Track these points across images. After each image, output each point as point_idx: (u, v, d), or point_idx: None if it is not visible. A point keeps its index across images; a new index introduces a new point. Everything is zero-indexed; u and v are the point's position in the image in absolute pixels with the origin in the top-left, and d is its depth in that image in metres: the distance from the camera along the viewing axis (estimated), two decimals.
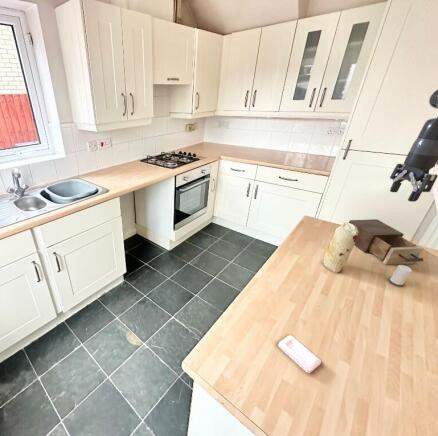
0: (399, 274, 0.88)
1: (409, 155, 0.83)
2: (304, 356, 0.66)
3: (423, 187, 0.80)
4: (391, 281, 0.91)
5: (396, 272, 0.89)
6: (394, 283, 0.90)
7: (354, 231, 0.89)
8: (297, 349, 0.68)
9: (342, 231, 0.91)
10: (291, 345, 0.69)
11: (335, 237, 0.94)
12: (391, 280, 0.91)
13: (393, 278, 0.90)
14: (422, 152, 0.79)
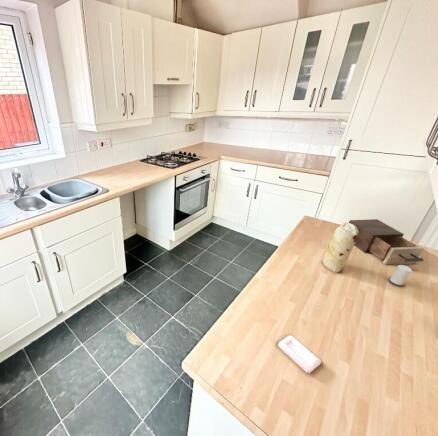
0: (399, 274, 0.88)
1: None
2: (304, 356, 0.66)
3: None
4: (391, 281, 0.91)
5: (396, 272, 0.89)
6: (394, 283, 0.90)
7: (354, 231, 0.89)
8: (297, 349, 0.68)
9: (342, 231, 0.91)
10: (291, 345, 0.69)
11: (335, 237, 0.94)
12: (391, 280, 0.91)
13: (393, 278, 0.90)
14: None
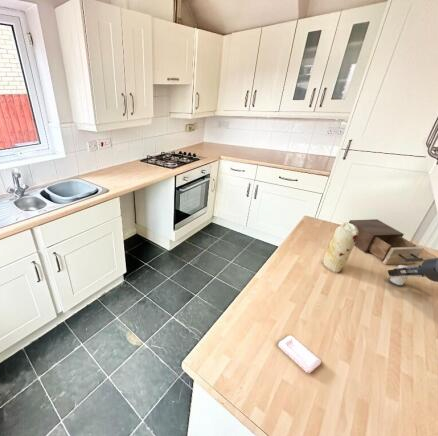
0: None
1: None
2: (304, 356, 0.66)
3: None
4: (391, 281, 0.91)
5: None
6: (394, 283, 0.90)
7: (354, 231, 0.89)
8: (297, 349, 0.68)
9: (342, 231, 0.91)
10: (291, 345, 0.69)
11: (335, 237, 0.94)
12: (391, 280, 0.91)
13: (393, 278, 0.90)
14: None
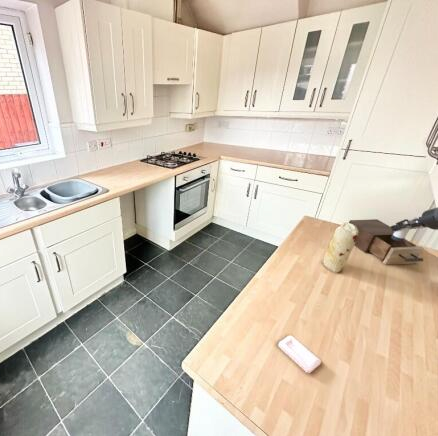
0: None
1: None
2: (304, 356, 0.66)
3: None
4: (394, 235, 1.00)
5: None
6: (397, 237, 0.99)
7: (354, 231, 0.89)
8: (297, 349, 0.68)
9: (342, 231, 0.91)
10: (291, 345, 0.69)
11: (335, 237, 0.94)
12: (394, 235, 1.00)
13: (396, 232, 0.99)
14: None
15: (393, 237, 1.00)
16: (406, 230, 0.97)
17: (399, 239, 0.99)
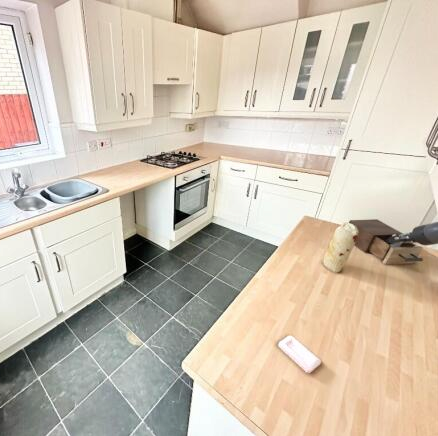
0: None
1: (433, 243, 0.88)
2: (304, 356, 0.66)
3: None
4: None
5: None
6: None
7: (354, 231, 0.89)
8: (297, 349, 0.68)
9: (342, 231, 0.91)
10: (291, 345, 0.69)
11: (335, 237, 0.94)
12: None
13: None
14: None
15: None
16: (398, 244, 1.00)
17: None
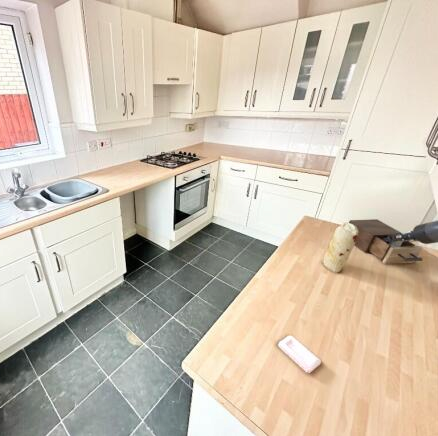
0: (392, 244, 1.01)
1: (434, 242, 0.87)
2: (304, 356, 0.66)
3: None
4: None
5: None
6: None
7: (354, 231, 0.89)
8: (297, 349, 0.68)
9: (342, 231, 0.91)
10: (291, 345, 0.69)
11: (335, 237, 0.94)
12: None
13: None
14: None
15: None
16: (397, 246, 1.00)
17: None
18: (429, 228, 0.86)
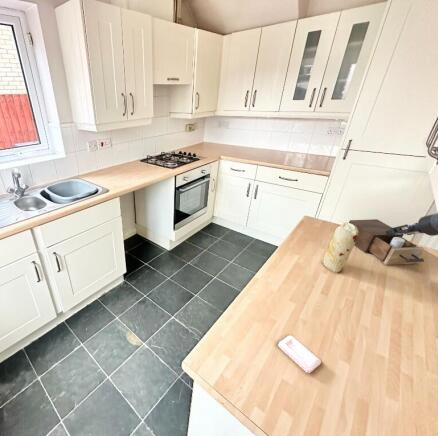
0: (394, 245, 1.01)
1: None
2: (304, 356, 0.66)
3: None
4: None
5: (391, 243, 1.01)
6: None
7: (354, 231, 0.89)
8: (297, 349, 0.68)
9: (342, 231, 0.91)
10: (291, 345, 0.69)
11: (335, 237, 0.94)
12: None
13: None
14: None
15: None
16: (399, 247, 1.00)
17: None
18: (435, 219, 0.85)
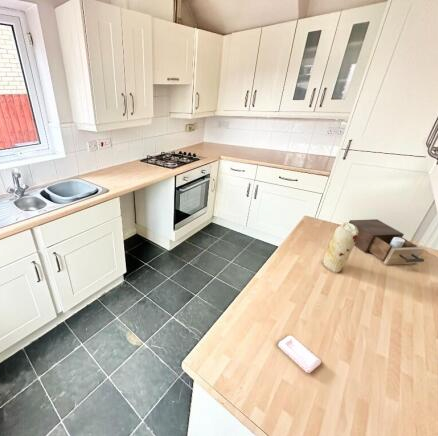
0: (394, 245, 1.01)
1: None
2: (304, 356, 0.66)
3: None
4: None
5: (391, 243, 1.01)
6: None
7: (354, 231, 0.89)
8: (297, 349, 0.68)
9: (342, 231, 0.91)
10: (291, 345, 0.69)
11: (335, 237, 0.94)
12: None
13: None
14: None
15: None
16: (399, 247, 1.00)
17: None
18: None
